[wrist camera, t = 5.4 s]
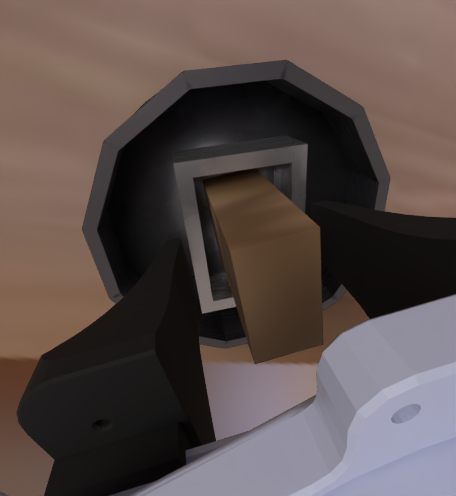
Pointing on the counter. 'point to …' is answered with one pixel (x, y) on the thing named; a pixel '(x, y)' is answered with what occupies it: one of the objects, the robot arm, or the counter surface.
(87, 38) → the counter surface
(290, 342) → the wooden block
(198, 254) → the bowl
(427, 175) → the counter surface
